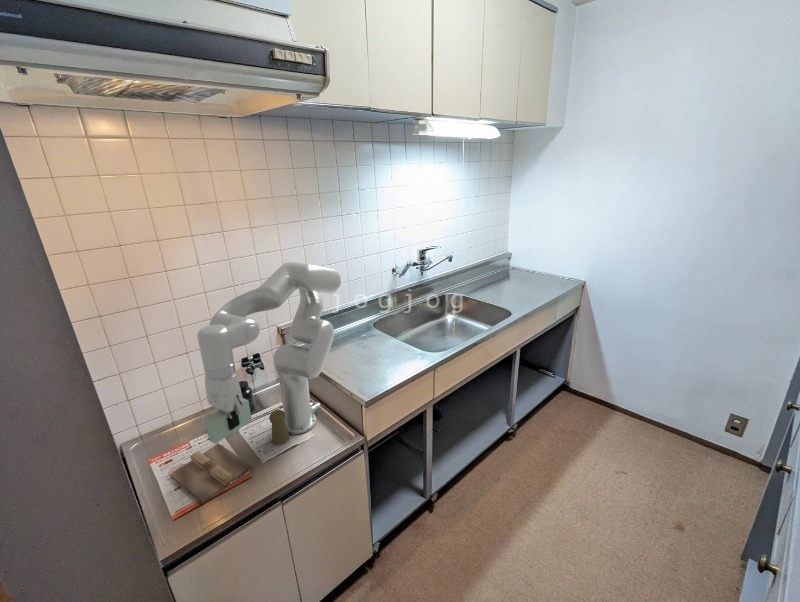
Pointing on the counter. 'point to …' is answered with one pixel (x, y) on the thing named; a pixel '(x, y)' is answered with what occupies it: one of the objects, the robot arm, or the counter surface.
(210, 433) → the sage plate
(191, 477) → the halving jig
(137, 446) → the counter surface
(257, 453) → the counter surface
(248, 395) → the supplement bottle
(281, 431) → the cork
